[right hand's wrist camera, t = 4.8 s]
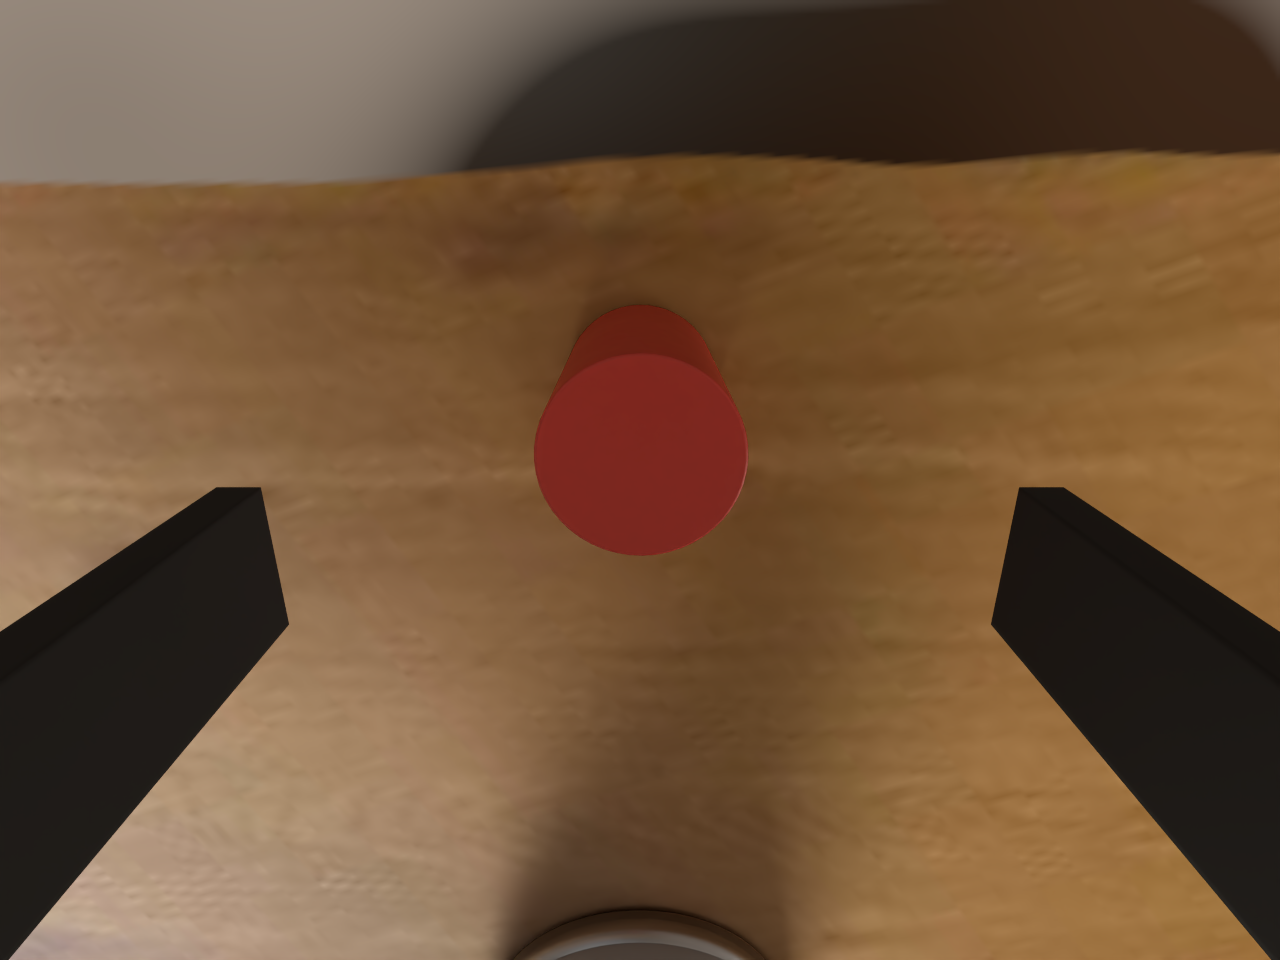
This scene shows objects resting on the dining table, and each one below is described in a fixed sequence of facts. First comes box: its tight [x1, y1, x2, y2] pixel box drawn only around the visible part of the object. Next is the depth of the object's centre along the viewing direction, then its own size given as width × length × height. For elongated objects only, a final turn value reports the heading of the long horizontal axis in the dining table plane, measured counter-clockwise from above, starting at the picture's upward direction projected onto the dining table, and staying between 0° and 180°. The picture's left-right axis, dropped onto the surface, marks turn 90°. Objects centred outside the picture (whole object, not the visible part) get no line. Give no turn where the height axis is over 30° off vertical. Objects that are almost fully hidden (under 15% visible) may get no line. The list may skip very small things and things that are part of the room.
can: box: [534, 305, 748, 556], centre depth 22 cm, size 5×5×9 cm
